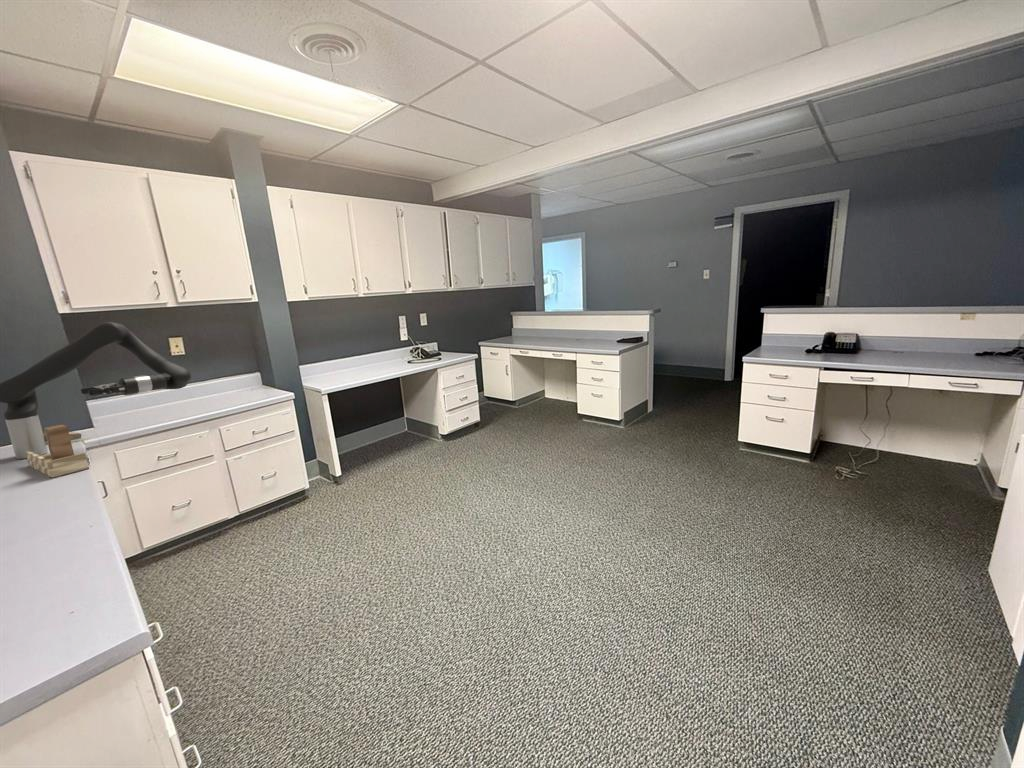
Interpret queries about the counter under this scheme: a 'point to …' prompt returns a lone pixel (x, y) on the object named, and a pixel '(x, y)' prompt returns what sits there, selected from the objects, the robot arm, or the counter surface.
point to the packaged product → (72, 437)
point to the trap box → (57, 464)
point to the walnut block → (59, 441)
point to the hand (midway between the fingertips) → (85, 392)
